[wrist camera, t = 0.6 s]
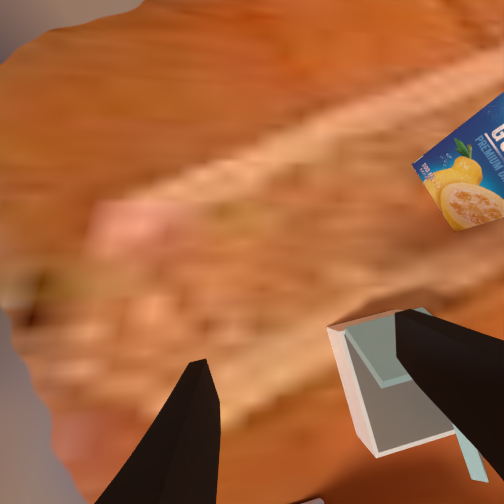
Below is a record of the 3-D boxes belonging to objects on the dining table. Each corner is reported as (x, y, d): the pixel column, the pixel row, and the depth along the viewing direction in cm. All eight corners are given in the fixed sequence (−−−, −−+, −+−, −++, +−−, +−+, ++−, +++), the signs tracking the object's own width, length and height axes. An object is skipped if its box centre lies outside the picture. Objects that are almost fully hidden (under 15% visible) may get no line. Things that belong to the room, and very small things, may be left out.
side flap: (474, 361, 20) (477, 354, 20) (381, 388, 20) (382, 381, 19) (420, 313, 25) (422, 307, 25) (345, 334, 25) (345, 327, 24)
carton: (429, 412, 28) (461, 432, 24) (356, 435, 27) (376, 458, 23) (395, 309, 30) (418, 310, 26) (326, 327, 29) (339, 331, 25)
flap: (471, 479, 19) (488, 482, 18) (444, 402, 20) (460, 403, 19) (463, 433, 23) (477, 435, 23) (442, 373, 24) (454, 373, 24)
